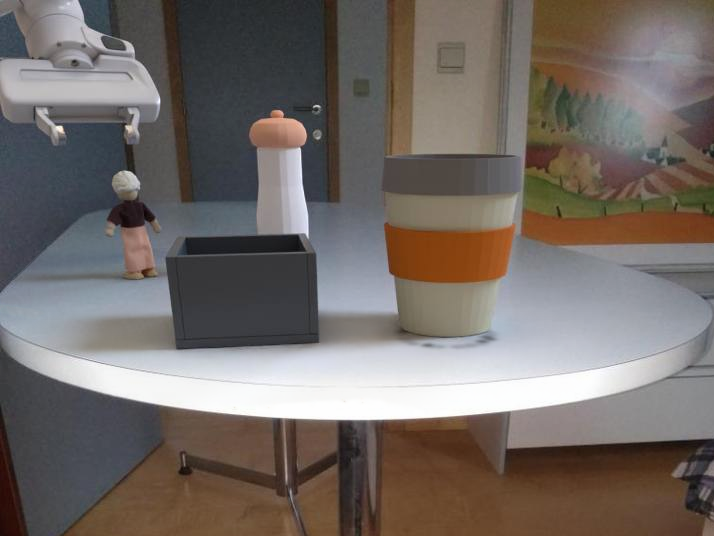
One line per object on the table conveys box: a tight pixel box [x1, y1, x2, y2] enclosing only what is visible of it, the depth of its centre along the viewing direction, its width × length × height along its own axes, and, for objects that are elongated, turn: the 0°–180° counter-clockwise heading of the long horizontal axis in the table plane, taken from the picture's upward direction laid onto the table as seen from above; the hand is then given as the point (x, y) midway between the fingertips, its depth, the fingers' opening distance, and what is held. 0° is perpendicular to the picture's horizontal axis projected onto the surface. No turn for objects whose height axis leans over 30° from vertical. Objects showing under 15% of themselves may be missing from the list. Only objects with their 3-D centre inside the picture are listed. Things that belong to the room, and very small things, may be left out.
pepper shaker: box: [248, 109, 309, 239], centre depth 92 cm, size 7×7×19 cm
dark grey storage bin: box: [164, 233, 320, 350], centre depth 68 cm, size 13×13×8 cm
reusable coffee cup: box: [380, 153, 523, 338], centre depth 67 cm, size 13×13×15 cm
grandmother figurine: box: [104, 170, 162, 280], centre depth 91 cm, size 8×4×13 cm, turn 149°
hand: (98, 141), depth 94 cm, fingers open, 8 cm apart
